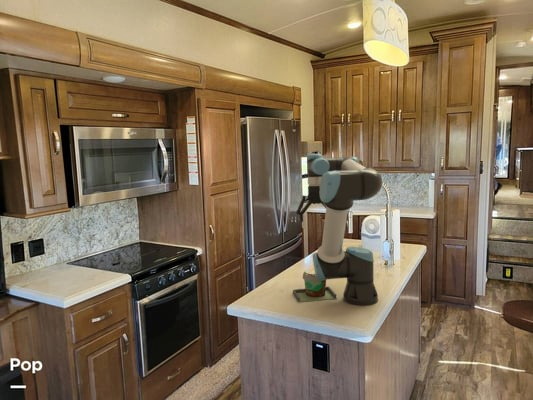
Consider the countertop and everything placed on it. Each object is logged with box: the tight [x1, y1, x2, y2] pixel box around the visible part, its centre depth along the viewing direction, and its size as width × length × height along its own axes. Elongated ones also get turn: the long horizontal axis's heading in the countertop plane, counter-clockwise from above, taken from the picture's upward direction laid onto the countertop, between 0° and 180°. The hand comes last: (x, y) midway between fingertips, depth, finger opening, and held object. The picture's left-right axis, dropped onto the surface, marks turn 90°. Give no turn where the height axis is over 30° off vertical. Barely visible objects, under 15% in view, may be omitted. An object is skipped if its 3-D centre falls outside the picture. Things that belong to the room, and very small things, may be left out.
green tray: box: [292, 286, 338, 303], centre depth 190 cm, size 12×18×2 cm, turn 98°
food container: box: [302, 271, 327, 297], centre depth 189 cm, size 12×6×10 cm, turn 53°
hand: (316, 227), depth 207 cm, fingers open, 13 cm apart
